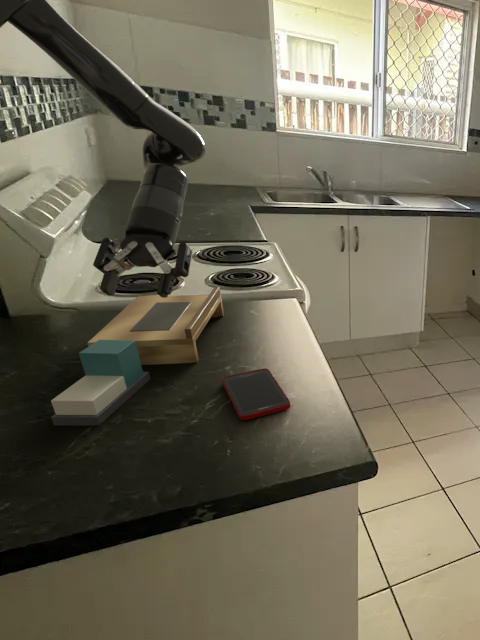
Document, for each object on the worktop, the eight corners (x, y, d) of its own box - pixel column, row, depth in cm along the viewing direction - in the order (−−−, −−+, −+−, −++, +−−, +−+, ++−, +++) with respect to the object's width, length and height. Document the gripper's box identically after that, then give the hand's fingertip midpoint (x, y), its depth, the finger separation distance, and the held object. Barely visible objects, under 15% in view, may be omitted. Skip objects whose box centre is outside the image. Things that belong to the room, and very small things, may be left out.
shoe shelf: (94, 367, 85) (84, 332, 82) (143, 317, 106) (135, 287, 103) (197, 362, 90) (190, 328, 87) (224, 315, 110) (219, 286, 108)
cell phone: (267, 371, 89) (267, 367, 88) (292, 408, 79) (292, 403, 78) (221, 382, 84) (220, 377, 84) (241, 422, 74) (240, 417, 74)
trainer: (99, 425, 71) (84, 378, 67) (53, 425, 70) (36, 378, 66) (150, 379, 83) (140, 338, 80) (112, 378, 82) (100, 336, 79)
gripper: (101, 201, 84) (74, 283, 78) (188, 207, 86) (168, 287, 81) (125, 225, 91) (103, 302, 85) (206, 230, 93) (189, 305, 88)
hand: (135, 294), depth 83 cm, fingers open, 8 cm apart
